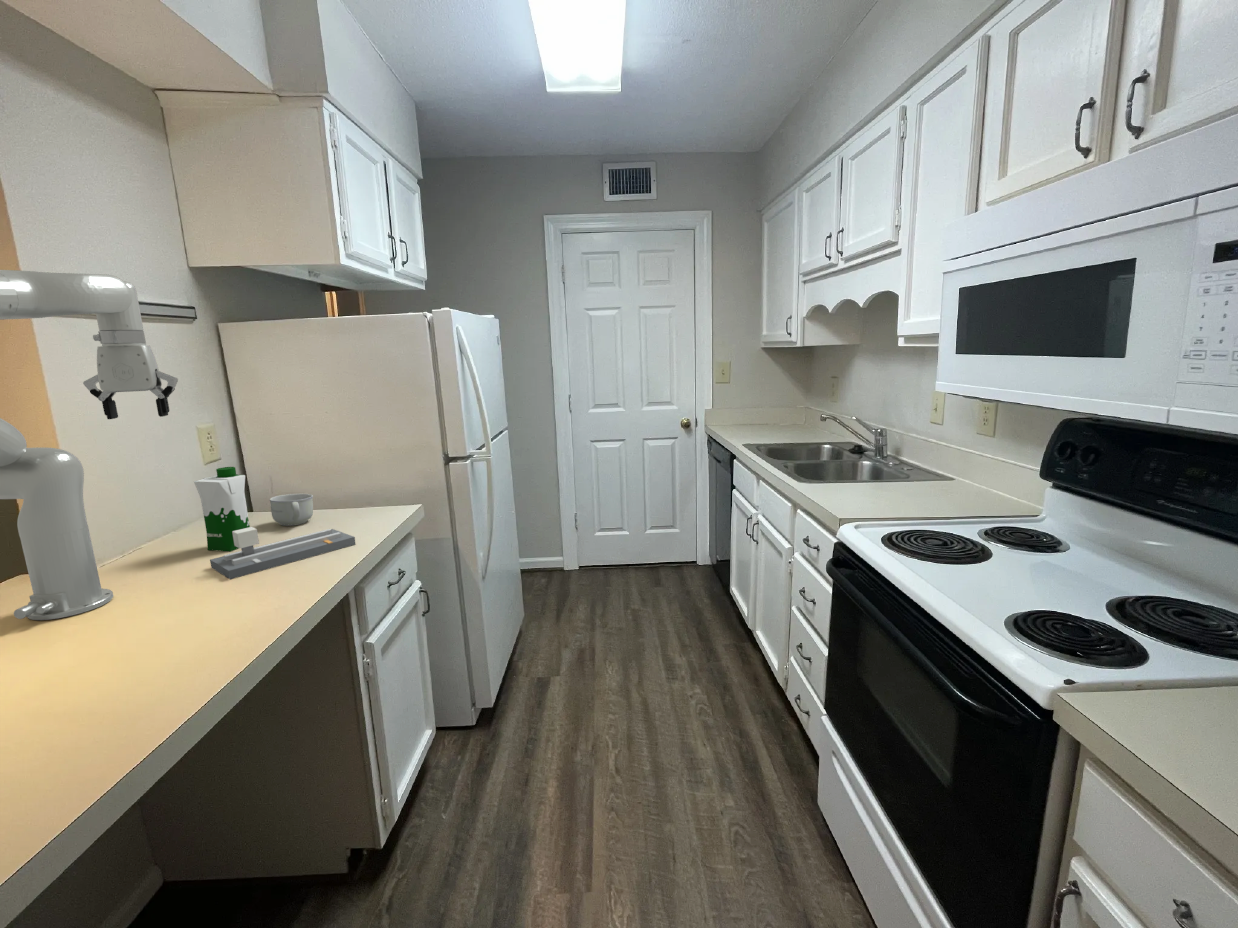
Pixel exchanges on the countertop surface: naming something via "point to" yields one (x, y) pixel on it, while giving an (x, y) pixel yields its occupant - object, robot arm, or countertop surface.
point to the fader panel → (281, 553)
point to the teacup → (292, 508)
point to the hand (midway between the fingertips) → (138, 417)
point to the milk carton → (223, 507)
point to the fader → (246, 540)
